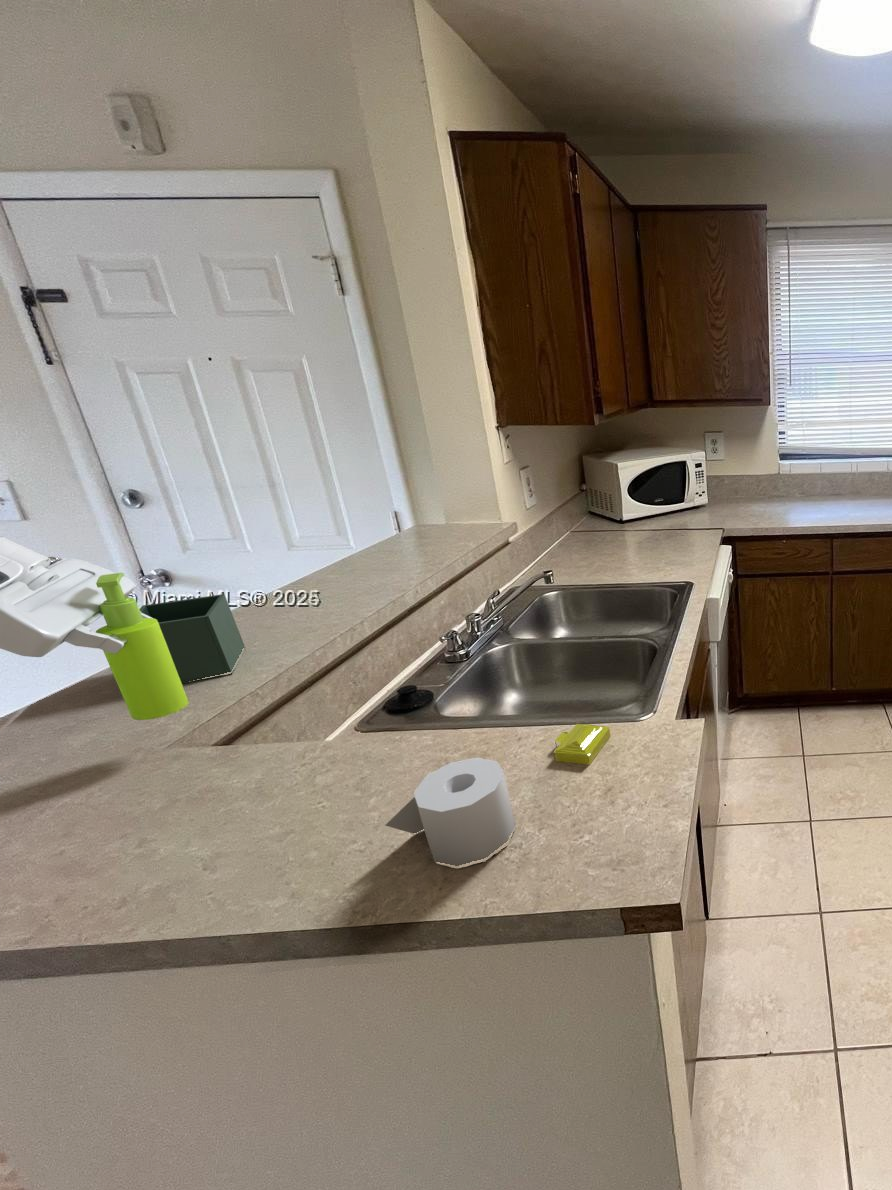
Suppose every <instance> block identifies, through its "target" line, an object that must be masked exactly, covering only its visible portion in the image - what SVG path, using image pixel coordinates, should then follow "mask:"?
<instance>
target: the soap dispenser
mask: <svg viewBox="0 0 892 1190" xmlns="http://www.w3.org/2000/svg"><path fill="white" fill-rule="evenodd" d="M123 576H125V572H115V574H107V575H101V576H100V577H99V578H98V580H97V583H96V585H97V587H98V588H99V587H102V590H103V592H104V595H105V597H106V599H107V600H106V601H104V602H103V603H101V604H100V605H99V606H100V609H101V611H102V614H103V619H104V621H105V624H106V625H104V626H101V627H100V628H98V629H97V630H96V631H95V633H100V634H104V635H108V636H111V635H112V634H115V635H118V636H120V637H121V638H125V639H126V640H127V641H128V643H127V644H126V645H125V646H124V647H123V648H122V649H121V650H120V651H119V652H117V653H115V654H111V653H109V652H106V651H104V650H102V652H103V653H104V656H105V658H106V661H107V663H108V665H109V667H110V670H111V673H112V675H113V678H114V680H115V682H116V684H117V686H118V689H119V691H120V694H121V696H122V699H123V701H124V703H125V705H126V708H127V710H128V712H129V715H130V717H131V719H132V720H136V721H147V720H153V719H154V720H155V719H159V718H163V717H167V716H169V715H172V714H174V713H177V712H179V711H181V710H183V709H185V708H186V707H187V706H188V705H189V703H190V702H189V699H188V696H187V694H186V691H185V689H184V686H183V684H182V683H181V680H180V678H179V675H178V673H177V670H176V667H175V665H174V662H173V660H172V657H171V654H170V652H169V649H168V647H167V644H166V641H165V639H164V636H163V634H162V631H161V628H160V626H159V623H158V621H157V619H154V618H143V617H142V615H141V612H140V610H139V609H140V607H139V604H138V602H137V599H136V598H134V597H130V596H128V597H125V596H124V593H123V591H122V588H121V586H120V583H119V582H120V580H121V578H122V577H123Z"/></svg>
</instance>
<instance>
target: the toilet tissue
mask: <svg viewBox="0 0 892 1190" xmlns="http://www.w3.org/2000/svg"><path fill="white" fill-rule="evenodd" d="M514 815H515V814H514V811H513V806H512V802H511V797H510V794H509V788H508V783H507V779H506V774H505V772H504V770H503V769H502V767H501V765H500V763H499V762H498V761H497V760H493V759H489V758H488V759H487V758H483V757H478V756H475V757H470V758H466V759H461V760H456V761H452V762H451V761H450V762H448V763H447V764H445V765H443V766H441V767H439V768H438V769H436V770H434V771H432V772H431V773H429V774H427V775H425V776H424V777H423V779H422V780H421V782H420V783H419V784H418V786H417V787H416V789H415V790H414V791H413V798H411V799H410V800H409V802H407V803H406V804H405V805H404V806H403V807H402V808H401V809H400V810H399V811H398V812H397V813H396V814H395V815H394V816H393V817H392V818H391V819H390V820H389V821H387V822H386V823H385V824H384V826H385V827H388V828H391V829H395V830H399V831H403V832H407V833H410V834H414V833H416V834H418V833H420V832H422V831H421V830H423V829H424V830H423V831H424V833H425V838H426V840H427V843H428V848H429V851H430V850H431V851H430V853H431V855H433V856H432V859H433V861H434V860H435V861H434V863H435V862H440V863H445V864H450V865H455V866H459V865H462V864H466V863H470V862H472V861H477V860H481V859H484V858H486V857H488V856H489V855H490V854H491V853H493V852H494V851H495V850H497V849H498V848H499V847H500V846H502V845H503V844H504V843H506V842H507V841H508V839H509V836H510V835H511V833H512V831H513V829H514V827H515V825H516V826H517V824H516V821H515V816H514ZM419 831H420V832H419ZM417 832H418V833H417ZM414 835H415V834H414Z"/></svg>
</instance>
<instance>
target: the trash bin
mask: <svg viewBox="0 0 892 1190" xmlns="http://www.w3.org/2000/svg"><path fill="white" fill-rule="evenodd" d="M139 610H140V611H141V613H143V614H145V615H147V616H150V617H152V618H154V619H157V621H158V623H159V626H160V628H161V631H162V634H163V636H164V639H165V641H166V644H167V647H168V649H169V652H170V654H171V657H172V660H173V662H174V665H175V667H176V670H177V673H178V675H179V678H180V680H181V683H184V682H189V681H193V680H197V679H202V678H205V677H210V676H215V675H220V674H224V673H227V672H231V671H232V669H233V667H234V665H235V663H236V661H237V659H238V658H239V655H240V654H241V652H242V649H243V648H244V646H245V643H244V641H243V638H242V635H241V633H240V630H239V628H238V625H237V623H236V620H235V617H234V616H233V612H232V610H231V608H230V604H229V602H228V600H227V597H226V594H225V593H222V594H216V595H209V596H208V595H207V596H201V597H193V598H186V599H179V600H172V601H171V600H170V601H165V602H158V603H150V604H143V605H142V606H141V607H139ZM189 683H190V682H189ZM184 684H185V683H184Z"/></svg>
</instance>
